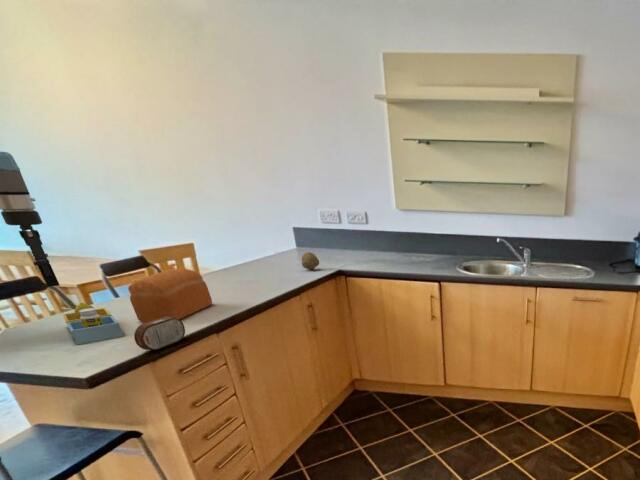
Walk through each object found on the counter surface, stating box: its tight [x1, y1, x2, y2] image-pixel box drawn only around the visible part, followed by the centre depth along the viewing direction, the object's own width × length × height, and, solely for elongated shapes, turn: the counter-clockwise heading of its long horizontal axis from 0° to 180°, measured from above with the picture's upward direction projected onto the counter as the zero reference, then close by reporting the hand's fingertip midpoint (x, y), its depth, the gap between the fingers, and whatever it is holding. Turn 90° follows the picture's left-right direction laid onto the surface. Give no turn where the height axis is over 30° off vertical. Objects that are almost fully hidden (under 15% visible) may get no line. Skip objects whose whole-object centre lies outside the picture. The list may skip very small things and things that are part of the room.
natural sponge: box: [301, 251, 320, 271], centre depth 236 cm, size 9×9×10 cm
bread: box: [127, 268, 213, 323], centre depth 159 cm, size 14×26×16 cm, turn 2°
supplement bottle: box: [79, 307, 104, 328], centre depth 136 cm, size 5×5×8 cm
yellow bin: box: [61, 307, 113, 324], centre depth 145 cm, size 11×11×5 cm
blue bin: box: [66, 315, 125, 345], centre depth 137 cm, size 11×11×5 cm
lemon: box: [74, 302, 98, 319], centre depth 144 cm, size 6×6×8 cm
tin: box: [133, 317, 186, 351], centre depth 130 cm, size 15×3×8 cm, turn 171°
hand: (51, 282), depth 132 cm, fingers open, 13 cm apart
